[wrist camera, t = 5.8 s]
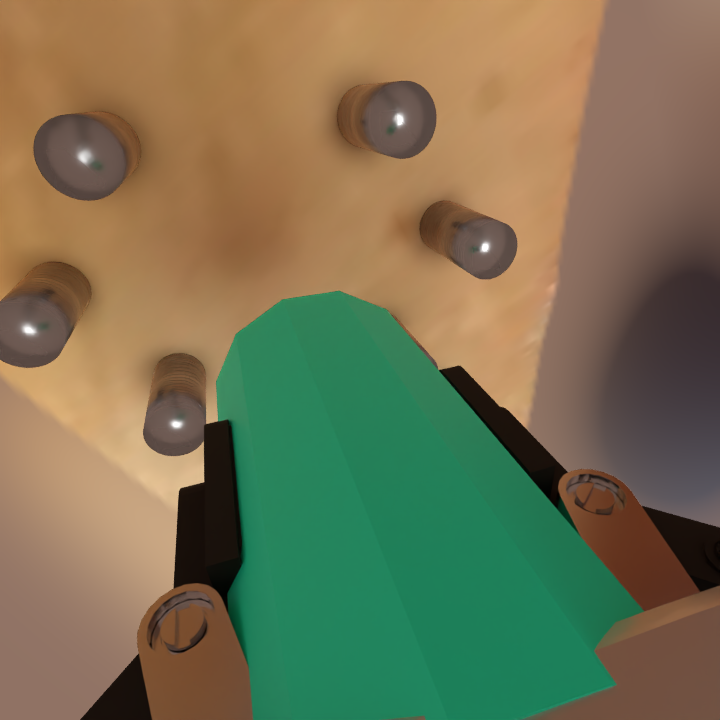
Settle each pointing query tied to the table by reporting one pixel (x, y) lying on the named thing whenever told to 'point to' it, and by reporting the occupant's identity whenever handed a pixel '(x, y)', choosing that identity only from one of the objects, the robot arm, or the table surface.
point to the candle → (394, 536)
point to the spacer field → (121, 157)
